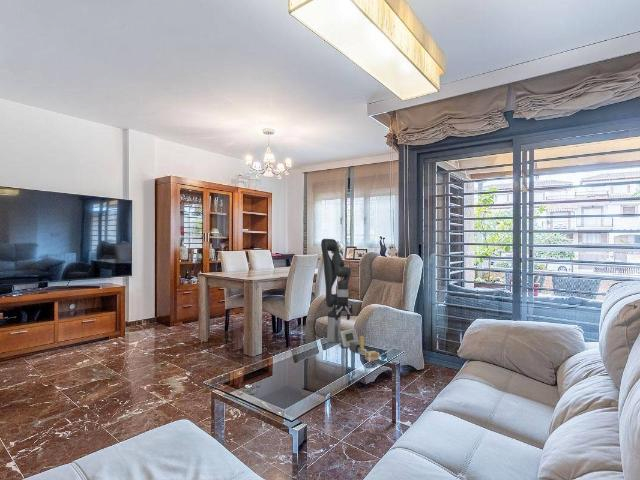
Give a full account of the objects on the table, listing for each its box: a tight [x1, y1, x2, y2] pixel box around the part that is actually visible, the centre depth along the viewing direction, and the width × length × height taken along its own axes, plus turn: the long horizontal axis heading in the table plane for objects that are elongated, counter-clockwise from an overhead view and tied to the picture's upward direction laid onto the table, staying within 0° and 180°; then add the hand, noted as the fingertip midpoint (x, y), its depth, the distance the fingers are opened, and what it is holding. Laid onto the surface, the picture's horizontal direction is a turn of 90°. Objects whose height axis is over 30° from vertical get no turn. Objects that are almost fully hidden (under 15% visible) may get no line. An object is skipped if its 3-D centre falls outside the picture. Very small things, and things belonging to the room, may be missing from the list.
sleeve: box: [349, 341, 359, 353], centre depth 231 cm, size 7×6×5 cm
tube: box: [356, 335, 368, 356], centre depth 229 cm, size 18×3×10 cm, turn 21°
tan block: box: [364, 350, 380, 362], centre depth 212 cm, size 5×7×4 cm
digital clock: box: [339, 328, 359, 349], centre depth 244 cm, size 16×9×11 cm, turn 126°
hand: (342, 320), depth 244 cm, fingers open, 8 cm apart
